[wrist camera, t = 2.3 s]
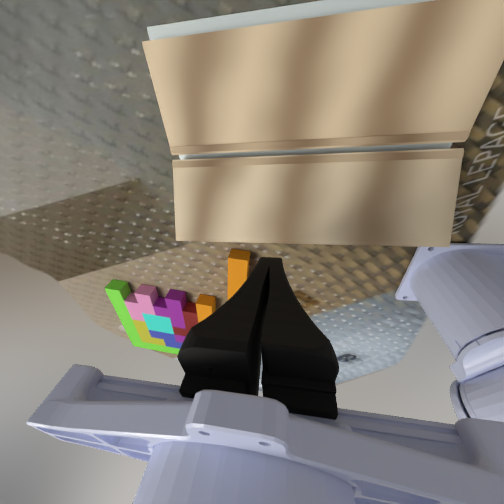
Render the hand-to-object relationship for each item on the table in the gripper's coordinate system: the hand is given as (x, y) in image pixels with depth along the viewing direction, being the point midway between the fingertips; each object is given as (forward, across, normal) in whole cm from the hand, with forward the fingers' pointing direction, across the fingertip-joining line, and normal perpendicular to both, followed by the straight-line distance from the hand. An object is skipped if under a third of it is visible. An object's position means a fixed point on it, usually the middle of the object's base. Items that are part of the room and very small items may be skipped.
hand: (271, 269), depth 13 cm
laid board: (+9, -2, -9) cm, 13 cm away
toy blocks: (+10, +14, +16) cm, 24 cm away
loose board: (+7, -2, -2) cm, 8 cm away
